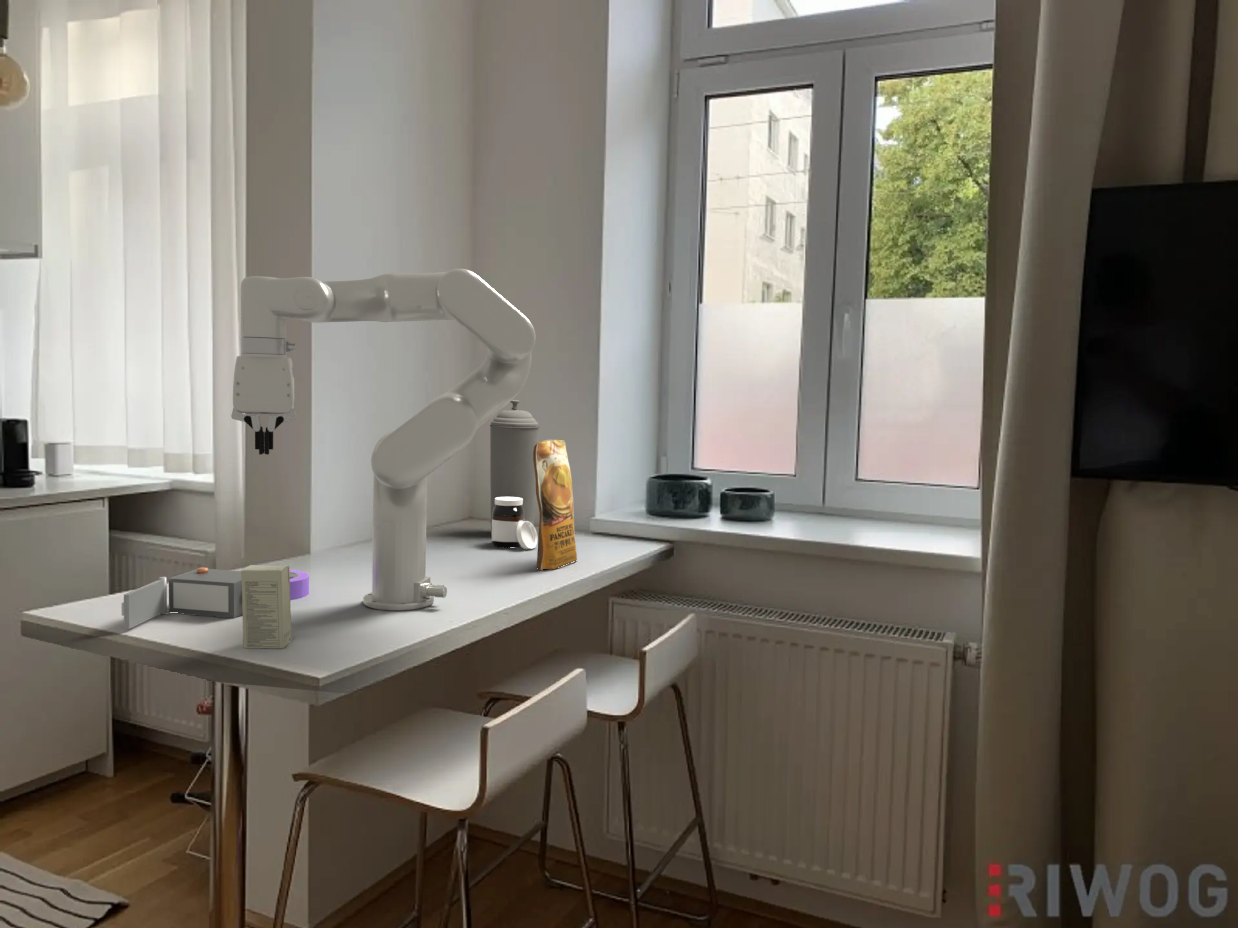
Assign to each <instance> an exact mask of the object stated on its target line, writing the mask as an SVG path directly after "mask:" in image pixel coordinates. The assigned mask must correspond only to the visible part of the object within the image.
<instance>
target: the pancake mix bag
mask: <svg viewBox="0 0 1238 928" xmlns="http://www.w3.org/2000/svg"><path fill="white" fill-rule="evenodd" d="M568 455H569V454H568V451H567V443H566V442H565V438H557V439H544V440H538V442H537V443H536V445H535V446H534V451H533V462H534V469H535V478H536V490H535V497H536V500H537V505H538V511H539V519H538V520H539V521H538V522H539V524H538V533H537V537H538V540H537V552H536V553H537V554H536V569H537V568H538V569H540V570H539V571H544V570H543V569H553V570H556V568H558V567H560V568H562V567H561V566H563V565H566V564H568V563H571V562H573V561H576V560H577V561H578V556H577V547H576V546H577V545H576V538H575V537H576V536H575V519H574V518H575V512H574V511H575V510H574V509H575V508H574V507H575V506H574V493H573V480H572V479H573V478H572V472H571V466H570V461H569V456H568ZM577 561H576V562H577ZM568 565H569V564H568ZM566 566H567V565H566ZM538 569H537V570H538ZM558 569H559V568H558Z"/></svg>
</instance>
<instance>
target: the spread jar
mask: <svg viewBox="0 0 1238 928" xmlns="http://www.w3.org/2000/svg"><path fill="white" fill-rule="evenodd" d="M522 504H523V499H522V498H519V497H497V498H495V507H494V509H493V512H492V533H491V544H492V546H493V547H495V548H499V547H504V548H503V549H511V548H510V547H518V548H523V549H524V550H526V549H528V550H532V549H534V548H536V546H538V533H537V532H538V531H537V529H536V527H535V526H534V525H535V524H534V525H533V524H532V523H531V522H529V521H524V509H523V507H522ZM520 546H521V547H520Z"/></svg>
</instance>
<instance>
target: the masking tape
mask: <svg viewBox="0 0 1238 928" xmlns="http://www.w3.org/2000/svg"><path fill="white" fill-rule="evenodd" d="M289 572H290V601H293V600H299V599H302V598H305V597H307V596H308V595H310V574H309V573H308V572H305V571H303V570H297V569H296V570H295V569H289Z"/></svg>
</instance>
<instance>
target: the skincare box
mask: <svg viewBox="0 0 1238 928" xmlns="http://www.w3.org/2000/svg"><path fill="white" fill-rule="evenodd" d="M289 570H290V565H289V564H250V565H248V566H246V567H244V568H242V569H240V571H241V581H242V613H243V614H242V636H243V637H242V638H243V639H242V641H243V642H242V643H243V649H284V648H285V647H286V646H287V645H289V643H291V642H292V617H291V616H292V614H291V600H290V572H289Z"/></svg>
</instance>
